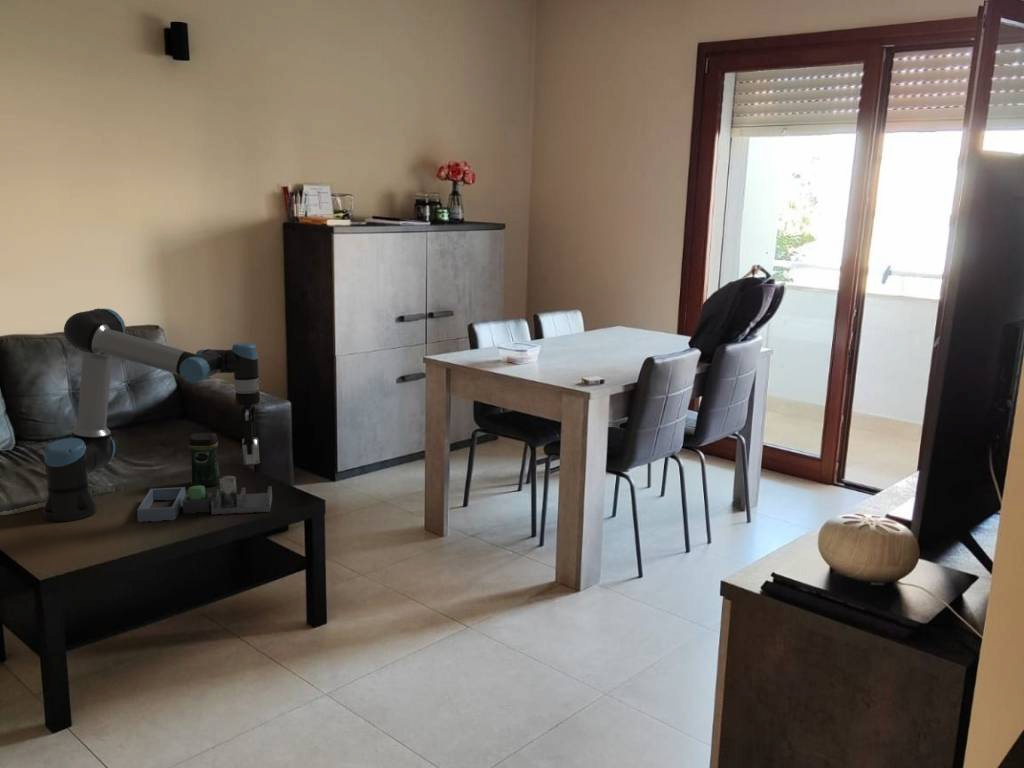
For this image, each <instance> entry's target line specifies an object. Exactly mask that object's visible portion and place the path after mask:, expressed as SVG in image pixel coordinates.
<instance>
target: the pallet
mask: <svg viewBox="0 0 1024 768" xmlns="http://www.w3.org/2000/svg"><path fill="white" fill-rule="evenodd" d="M246 492H247V491H246V487H241V490H240V493H239V494H237V502H235V503H231V504H223V503H221V494H220V488H215V490H214V492H213V494H212V499H211V509H210V512H211V516H218V515H217V514H221V515H234V514H233V513H238V514H255V513H254V512H256V513H268V512H269V513H270V512H271V507H272V502H273V488H272V486H271V485H269V486H267V491H266V492H262V493H261V492H260V493H259V492H258V493H246ZM230 513H231V514H230ZM214 514H215V515H214Z"/></svg>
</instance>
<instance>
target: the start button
mask: <svg viewBox="0 0 1024 768" xmlns="http://www.w3.org/2000/svg"><path fill="white" fill-rule="evenodd" d="M205 493H206V486H193V485H192V486H190V487H188V494H189V500H206V497H205Z"/></svg>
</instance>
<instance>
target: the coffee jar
mask: <svg viewBox="0 0 1024 768" xmlns="http://www.w3.org/2000/svg"><path fill="white" fill-rule="evenodd" d="M218 441H219V440H218V435H217V433H215V432H212V433H210V432H209V433H208V432H206V433H205V432H203V433H193V434H191V435H190V436H189V439H188V448H189V450H190V455H191V472H190V473H191V475H190V476H191V477H190V480H191V481H190V482H191V485H192V486H205V487H212V486H215V485H220V478H221V474H220V468H219V462H218V455H217V453H218V452H217V450H218V446H219V442H218Z"/></svg>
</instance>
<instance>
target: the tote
mask: <svg viewBox="0 0 1024 768" xmlns="http://www.w3.org/2000/svg"><path fill="white" fill-rule="evenodd" d="M186 494H187V493H186V487H185V486H184V487H183V486H181V487H163V488H162V487H161V488H150V489H149V490H148V492H147V494H146V495H145V497H144V498H143V500H142V501H141V503H140V505H139V506H138V508H137V509H136V512H137V513H136V514H137V515H136V516H137V523H148V522H147V521H152V522H163V521H162V520H169V521H175V519H177V518H176V517H178V516H177V515H179V513H180V511H181V509H182V508H183V500H184V498H185V496H186ZM172 499H176V500H174V502H173V504H172V505H171V506H168V507H152V505H153V504H152V503H154V502H155V501H154V500H166V501H173V500H172ZM153 501H154V502H153ZM150 506H151V507H150ZM143 521H145V522H143Z"/></svg>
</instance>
